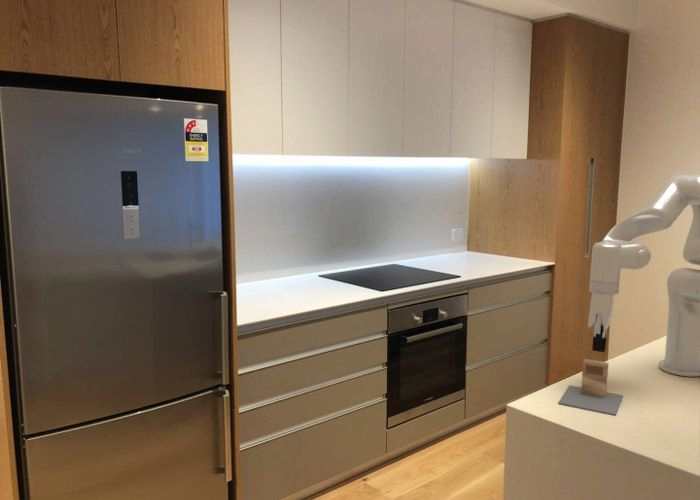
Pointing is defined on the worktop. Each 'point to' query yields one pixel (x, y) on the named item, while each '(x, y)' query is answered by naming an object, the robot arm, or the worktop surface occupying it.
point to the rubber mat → (591, 401)
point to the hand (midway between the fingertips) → (598, 350)
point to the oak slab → (594, 378)
